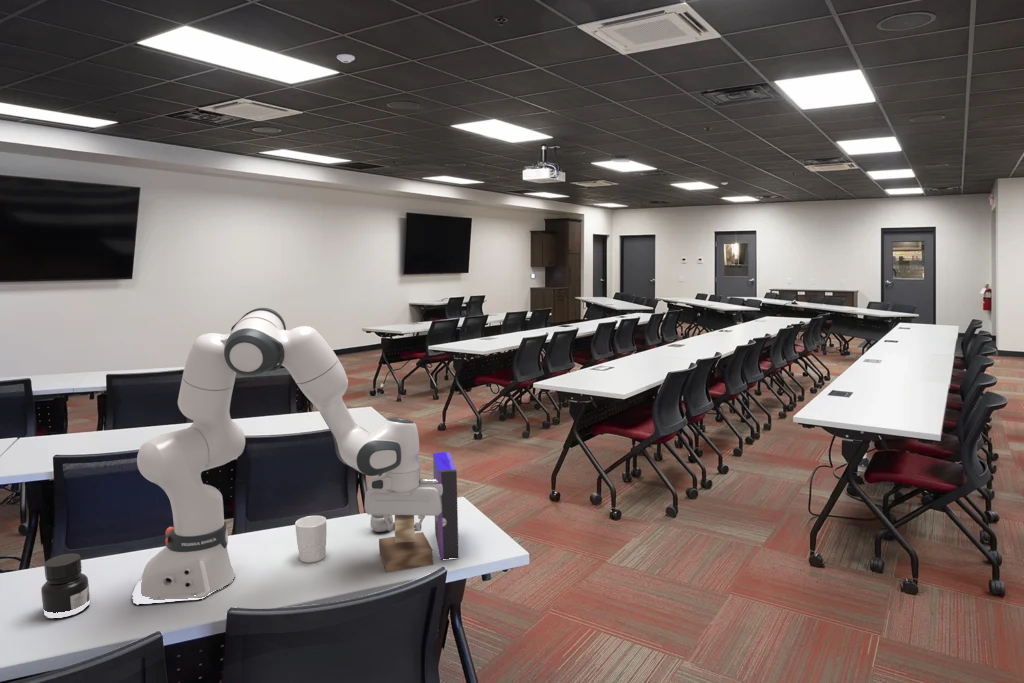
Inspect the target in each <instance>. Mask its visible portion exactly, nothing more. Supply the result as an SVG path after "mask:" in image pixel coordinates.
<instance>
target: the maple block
mask: <svg viewBox="0 0 1024 683" xmlns="http://www.w3.org/2000/svg"><path fill="white" fill-rule="evenodd" d="M394 522H395V530H394V537H395V543H400V542H413V541H415V533H416V531H415V528H414V525H415V515H394Z"/></svg>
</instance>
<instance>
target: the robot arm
mask: <svg viewBox="0 0 1024 683" xmlns="http://www.w3.org/2000/svg"><path fill="white" fill-rule="evenodd" d="M281 367H284V368H285V369H286V370H287V372H288V373H289V374H290V376H291V377H292V379H293V380H294V382H295V383H296V385H297V386H298V388H299V389H300V391H301V392H302V394H304V396H305V397H306V398H307V399H308V400H309V401H310V402H311V403H312V405H313V406H315V408H316V409H317V410H318V412H319V413H320V415H321V417H322V419H323V420H324V422H325V424H326V425H327V427H328V429H329V431H330V432H331V434H332V437H333V440H334V449H335V453H336V456H337V458H338V460H339V461H340V462H341V463H343V464H344V465H347V466H349V467H351V468H353V469H354V470H355V471H357V472H359V473H361V474H363V475H365V476H367V477H370V478H369V479H368V481H367V488H368V489H367V491H366V492H365V495H364V512H365V513H366V514H367V515H368V516H369V515H370V516H371V515H383V519H384V520H385V522H386V523H387V525H388V532H391V531H392V532H395V521H393V522H392V521H391V519H390V515H392V516H395V515H414V516H417V518H418V520H419V521H418V522H414V529H415V532H421V530H422V523H423V521H424V519H425V518H426V516H427V517H428V516H429V517H430V516H432V517H433V516H434V517H435V516H438V515H440V513H441V512H442V502H441V497H440V496H441V495H442V494H443V485H442V484H441V483H440V484H438V481H437V480H436V479H434V478H432V479H426V478H422V479H421V465H420V462H419V455H420V438H419V430H418V426H417V423H415V422H414V421H413V420H411V419H408V418H404V417H396V416H395V417H390V418H386V420H385V422H384V423H383V424H382V425H381V426H380V427H378V428H377V429H376V430H374V431H372V432H371V433H370V432H369V431H368V430H367V429H365V428H363V427H361V426H359V425H358V424H357V423H356V422H355V419H354V418H353V417H352V415H351V413H350V411H349V409H348V407H347V405H346V404H345V402H344V399H343V397H344V395H345V393H346V392H347V389H348V387H349V379H348V375H347V373H346V370H345V369H344V366H343V365H342V363H341V361H340V360H339V358H338V356H337V355H336V353H335V351H334V350H333V349H332V347H331V346H330V344H329V343H328V342H327V340H325V338H324V337H323V336H322V335H321V334H320V333H319V332H318V330H316V329H315V328H314V327H311V326H309V325H300V326H296V327H294V328H292V329H287V327H286V322H285V320H284V318H283V317H282V316H281V314H280V313H278V311H276V310H273V309H271V308H268V307H258V308H254V309H252V310H250V311H248V312H247V313H245V314H244V315H243V316H242V317H241V318H240V319H238V321H237V322H236V323H234V325H232V327H231V329H230V332H229V333H225V334H224V333H218V332H208V333H203V334H201V335H200V336H198V337H197V338H196V339H195V340H194V341H193V344H192V345H191V348H190V350H189V352H188V355H187V358H186V362H185V365H184V368H183V372H182V378H181V381H180V388H179V393H178V398H177V406H178V409H179V411H180V412H181V413H182V415H183V416H184V417H185V418H187V419H190V421H191V420H192V423H191V425H190V426H189V427H186V428H183V429H179V430H175V431H171V432H167V433H163V434H160V435H158V436H156V437H154V438H152V439H150V440H148V441H146V442H144V443H142V445H141V446H140V447H139V450H138V453H137V457H136V464H137V469H138V470H139V472H140V474H141V475H142V476H143V478H145V480H148V481H149V482H151V483H152V484H153V483H154V484H155V485H157V486H159V487H160V488H161V489H162V490H163V491H164V492H165V494H166V495H167V497H168V499H169V501H170V502H169V503H170V507H171V511H172V519H173V526H168V528H166V530H165V534H164V535H165V538H164V539H165V540H164V541H165V547H164V548H163V549H162V550H160V551H159V552H158V553H157V554H156V555H154V556H153V557H152V558H151V559H150V560H148V562H147V563H146V565H145V566H144V569H143V572H142V576H141V579H142V582H141V594H142V596H145V597H150V598H149V599H153V600H165V599H188V598H202V597H205V596H207V595H208V594H209V593H211V592H213V591H215V590H218V589H220V588H222V587H224V586H226V585H227V584H229V583H230V582H231V581H232V582H233V581H234V580H235V578H236V573H235V571H234V569H233V566H232V563H231V560H230V555H229V550H228V544H229V537H228V536H229V535H228V528H227V522H226V521H225V517H224V516H225V514H224V500H223V495H222V493H221V491H220V490H219V489H217V488H216V487H215V486H212V485H210V484H206V483H203V480H202V477H201V476H202V473H203V472H204V471H205V472H206V471H209V470H210V469H214V468H217V467H220V466H224V465H226V464H227V463H230V462H231V461H233V460H235V459H237V458H239V457H240V456H241V455H242V454H243V452H244V450H245V446H246V436H245V433H244V431H243V429H242V428H241V427H240V425H239V424H237V422H235V421H233V420H232V417H231V413H230V408H231V401H232V395H233V390H234V387H235V386H234V385H235V381H236V376H237V374H239V375H241V376H256V375H261V374H263V373H266V372H272V371H278V370H279V369H280V368H281ZM371 476H372V477H371ZM234 577H235V578H234ZM233 579H234V580H233ZM232 582H231V583H232ZM231 583H230V584H231ZM230 584H229V585H230ZM226 587H227V586H226ZM224 588H225V587H224ZM222 589H223V588H222ZM220 590H221V589H220ZM218 591H219V590H218ZM194 595H196V596H194Z"/></svg>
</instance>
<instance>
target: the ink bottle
mask: <svg viewBox="0 0 1024 683" xmlns="http://www.w3.org/2000/svg"><path fill="white" fill-rule="evenodd" d="M43 566H44V576H45V580H46V582H45V583H44V584H42V587H41V603H42V610H43V609H44V610H45V611H47V612H53V613H56V612H57V613H58V612H65V611H70V610H73V609H76V608H78V607H80V606H82V605H84V604H85V603H86V602H88V601H89V599H90V600H91V594H90V586H89V585H90V584H89V578H88V576H87V575H86V574H84V573H82V570H83V569H82V568H83V567H82V560H81V555H80V554H79V553H65V554H59V555H56V556H54V557H51V558H49V559H47V560H46V561H44V564H43Z"/></svg>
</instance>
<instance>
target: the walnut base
mask: <svg viewBox="0 0 1024 683" xmlns="http://www.w3.org/2000/svg"><path fill="white" fill-rule="evenodd" d="M378 548H379V549H378V553H379V556H380V559H381V561H382V563H383V567H384V569H385V573H392V572H398V571H404V570H411V569H416V568H422V567H423V568H424V567H427V566H433V565H434V550H433V548H432V546H431V544H430V542H429V540H428V539H427V537H426V535H425V533H424V532H423V531H422V532H421V531H420V532H417V533H416V532H415V541H413V542H400V543H395V536H389V537H382V538H378Z"/></svg>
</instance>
